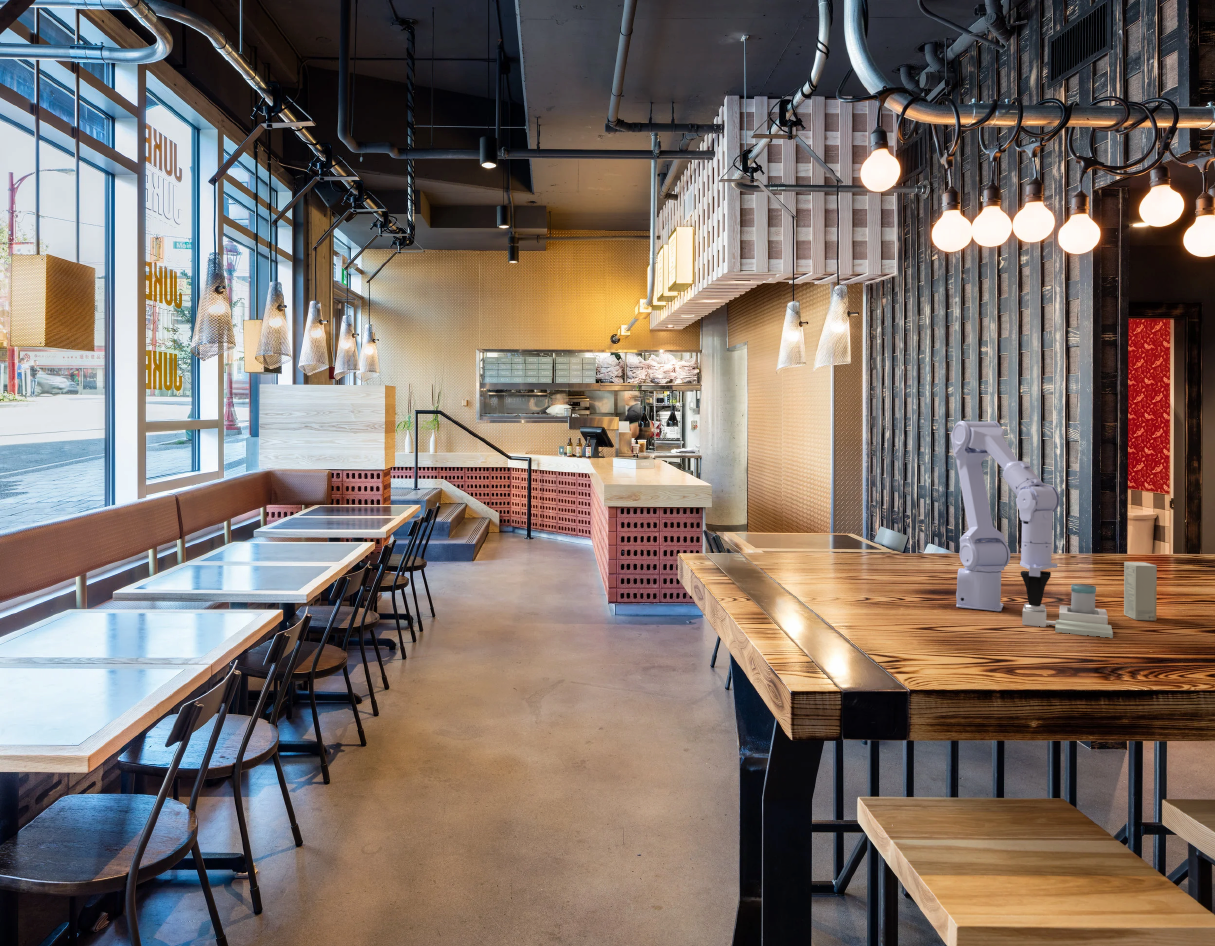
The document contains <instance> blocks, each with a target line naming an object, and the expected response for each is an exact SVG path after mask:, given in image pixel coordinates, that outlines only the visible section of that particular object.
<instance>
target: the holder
mask: <svg viewBox="0 0 1215 946" xmlns="http://www.w3.org/2000/svg"><path fill="white" fill-rule="evenodd" d="M1058 615H1059V616H1058V617H1059V618H1058V620H1064V621H1074V622H1084V623H1093V624H1103V625H1109V624H1108V623H1109V622H1108V619H1109V617H1108V613H1107V609H1104V608H1103V609H1102V608H1095V615H1093V614H1083V613H1073V612H1071V605H1060V604H1059V611H1058ZM1021 617H1022V622H1021V624H1022V626H1031V627H1039V626H1040V627H1039V628H1046V627H1047V626H1049V625H1056V620H1047V609H1046V608H1045V611H1043V612H1036V611H1028V610H1025V609H1024V606H1023V608H1022V615H1021Z"/></svg>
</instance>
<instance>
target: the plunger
mask: <svg viewBox="0 0 1215 946" xmlns="http://www.w3.org/2000/svg"><path fill="white" fill-rule="evenodd" d="M1023 607H1024V609H1025V610H1028V611H1036V612H1043V611H1045V609H1046V605H1045V604H1042V603H1041V605H1040V606H1033V605H1029V602H1027V603H1024V605H1023Z"/></svg>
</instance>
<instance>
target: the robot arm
mask: <svg viewBox="0 0 1215 946" xmlns="http://www.w3.org/2000/svg"><path fill="white" fill-rule="evenodd" d="M950 440H951V445H952V450H953V456H954V458H955V461H956V466H957V467H956V468H957V472H958V478H959V484H960V488H961V495H962V499H963V505H964V511H965V516H966V521H967V522H966V523H967V527H968V530H967V531H965V533H964V534H962V536H961V537H960V538H959V552H958V553H959V559H960V563H962V565H963V568H962V567H960V568H958V570H957V577H956V593H955V594H956V595H955V598H956V605H955V606H956V608H963V609H973V610H984V611H990V612H991V611H994V612H1002V610H1003V607H1004V603H1002V602H1001V598H1002V597H1001V596H1002V595H1001V594H1002V571H1005V567H1007V566H1008V565H1009V563H1010V560H1011V549H1010V548H1009V545H1008V544H1007V542H1006V539H1005V534H1004V533H1002V532H1001V531H999V530H998V529H997V528H995V527H994V524H993V519H992V514H991V509H990V508H991V507H990V503H989V499H988V493H987V487H986V481H985V476H984V471H983V466H982V463H983V461H984V460H985V459H988V458H989V457H990V456H991V457H992V458H993V460H995V462H996V463H997V464H998V465H999V466H1000V467H1001V469H1002V470H1003V471H1002V478H1003V479H1004V480H1005V482H1006V484H1007V485H1008V486H1009V488H1010V489H1011V490H1012V491H1013V492H1014V494H1015V496H1016V498H1015V503H1016V506H1017V509H1018V510H1019V518H1020V519H1019V520H1020V521H1021V543H1020V545H1021V547H1020V550H1021V552H1020V561H1019V566H1021V567H1022V568H1025V569H1027V570H1022V571H1020V576H1021V579H1022V580H1023V583H1024V586H1025V590H1026V596H1027V603H1029V605H1033V606H1040V605H1041V604H1042V601H1043V597H1044V594H1045V593H1044V592H1045V588H1046V586H1047V584H1048V581H1049V580H1050V578H1051V575H1052V573H1051V571H1046V570H1049V569H1052V568H1055V569H1056V568H1058V563H1053V562H1052V552H1053V551H1052V549H1053V548H1052V546H1053V519H1054V518H1053V517H1054V516H1053V513H1054V512H1056V511H1057V510H1058V508H1059V507H1060V504H1061V503H1060V502H1061V500H1060V499H1061V497H1060V493H1059V492H1058V490H1057V488H1056V487H1055V486H1054V485H1051V484H1050V485H1049V484H1047V483H1046V482H1045V483H1043V481H1042V480H1041V479H1040V478H1039V476H1038V475H1037V473H1035V471H1034V470H1033V469H1032V468H1031V464H1030V463H1028V462H1026V461H1023V460H1018V458H1017V456H1016V455H1015V454H1014V452H1013V451H1012V449H1011V447H1010V446H1009V444H1008V443H1007V441H1006V440H1005V429H1004V428H1002V425H1001V424H1000V423H999V422H998V421H995V420H991V421H966V420H959V421H957V422H956V424H955V425H954V427H953V428H952V431H951V433H950Z"/></svg>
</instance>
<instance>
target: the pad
mask: <svg viewBox="0 0 1215 946" xmlns="http://www.w3.org/2000/svg"><path fill="white" fill-rule="evenodd" d="M1055 621H1056V625H1055V626H1054V627H1055V628H1054V629H1055V631H1054V632H1055V633H1059V632H1062V633H1061V634H1069V633H1070V635H1080V636H1087V635H1089V636H1088V637H1090V636H1091V637H1096V636H1100V637H1099V638H1105V637H1110V638H1109V639H1113V637H1114V631H1113V629H1112V628H1113V627H1112V625H1110V624H1107V625H1103V624H1093V623H1084V622H1074V621H1064V620H1059V619H1055Z"/></svg>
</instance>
